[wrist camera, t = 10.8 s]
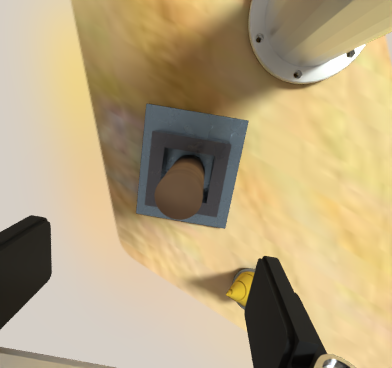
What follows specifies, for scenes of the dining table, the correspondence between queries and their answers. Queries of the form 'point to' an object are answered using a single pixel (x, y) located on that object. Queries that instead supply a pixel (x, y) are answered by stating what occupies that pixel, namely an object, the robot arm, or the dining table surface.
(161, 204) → the walnut rod
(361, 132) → the dining table surface
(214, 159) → the grey square peg hole
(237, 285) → the yellow grooved cone part
